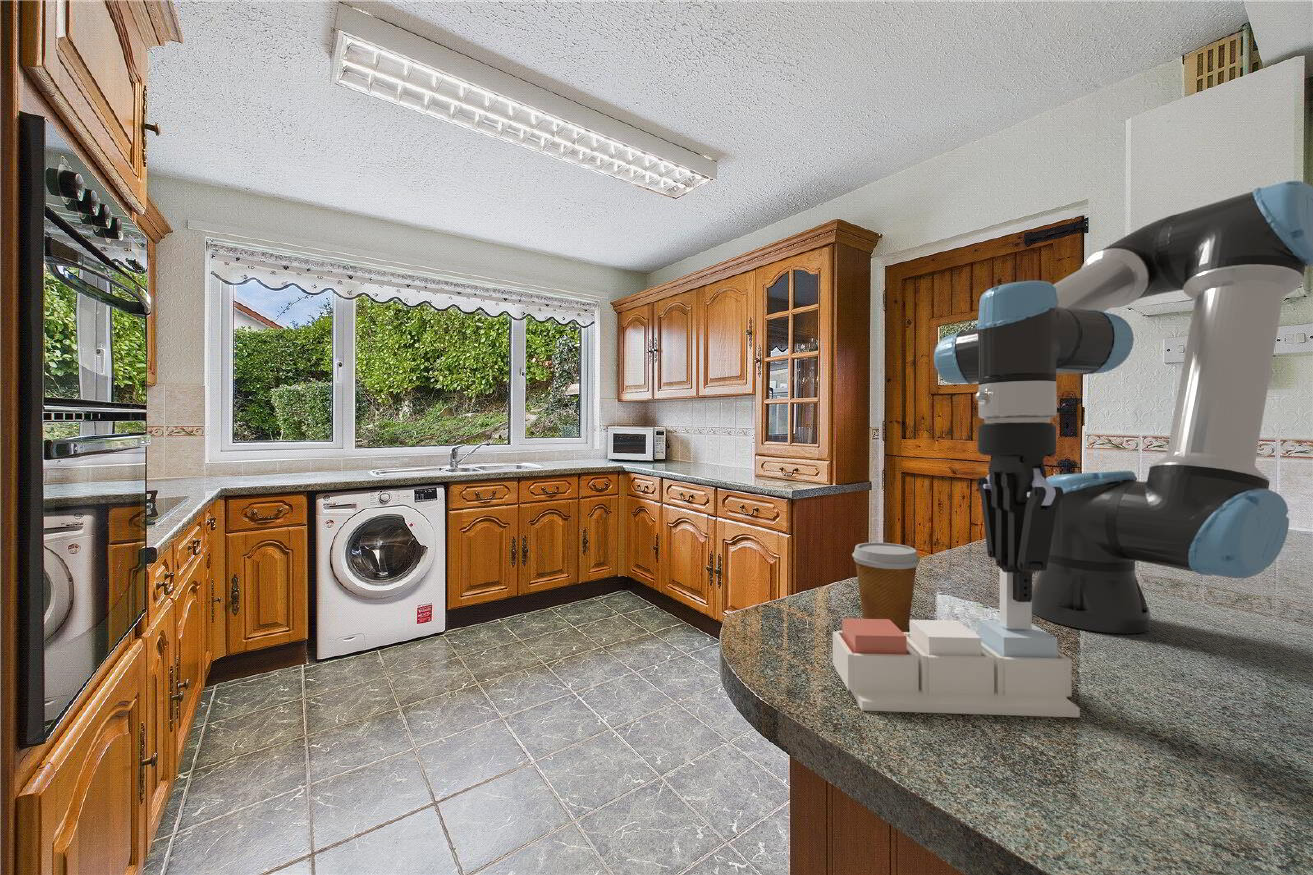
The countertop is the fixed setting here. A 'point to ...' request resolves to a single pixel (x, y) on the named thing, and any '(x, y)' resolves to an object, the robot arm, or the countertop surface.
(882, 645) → the brick-red key
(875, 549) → the disposable coffee cup
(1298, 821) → the countertop surface
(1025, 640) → the pale blue key
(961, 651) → the white key
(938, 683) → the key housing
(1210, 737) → the countertop surface
